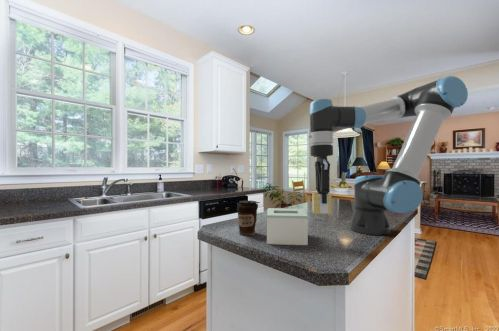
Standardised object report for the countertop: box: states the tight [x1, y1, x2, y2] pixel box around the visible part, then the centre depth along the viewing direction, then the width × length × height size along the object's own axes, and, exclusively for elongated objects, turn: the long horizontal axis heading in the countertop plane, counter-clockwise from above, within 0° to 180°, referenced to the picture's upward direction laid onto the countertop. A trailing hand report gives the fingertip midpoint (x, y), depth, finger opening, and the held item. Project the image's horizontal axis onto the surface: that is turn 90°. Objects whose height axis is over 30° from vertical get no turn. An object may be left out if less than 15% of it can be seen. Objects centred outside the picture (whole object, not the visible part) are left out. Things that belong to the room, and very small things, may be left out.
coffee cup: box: [236, 200, 259, 236], centre depth 96 cm, size 9×8×13 cm
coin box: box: [266, 207, 309, 246], centre depth 90 cm, size 14×14×10 cm
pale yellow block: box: [311, 192, 333, 215], centre depth 84 cm, size 6×3×7 cm, turn 85°
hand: (322, 211), depth 84 cm, fingers closed on pale yellow block, 3 cm apart
